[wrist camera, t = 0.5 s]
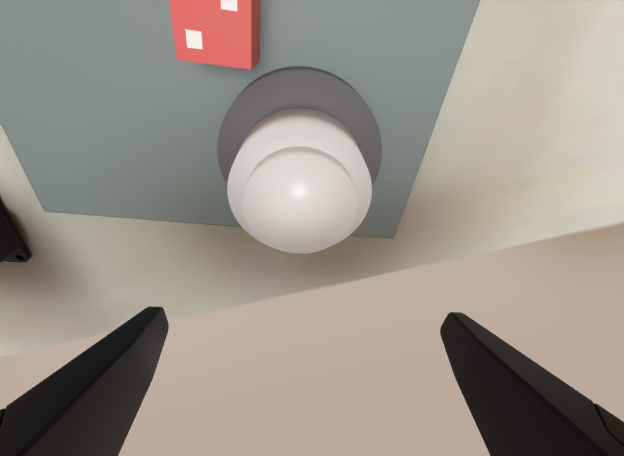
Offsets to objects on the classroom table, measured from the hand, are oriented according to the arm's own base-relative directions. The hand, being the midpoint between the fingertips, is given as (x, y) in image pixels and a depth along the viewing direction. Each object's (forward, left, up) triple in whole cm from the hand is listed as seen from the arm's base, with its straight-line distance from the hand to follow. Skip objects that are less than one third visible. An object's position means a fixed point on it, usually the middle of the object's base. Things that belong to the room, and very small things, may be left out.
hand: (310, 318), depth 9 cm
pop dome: (0, +1, -8) cm, 8 cm away
